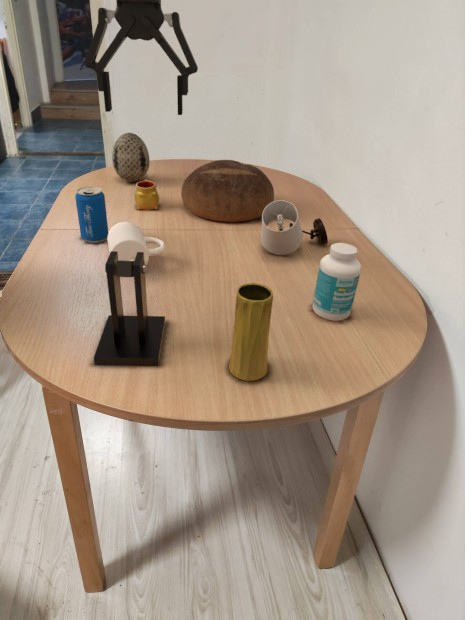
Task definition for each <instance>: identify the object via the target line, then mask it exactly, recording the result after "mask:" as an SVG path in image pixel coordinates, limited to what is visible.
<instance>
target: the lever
mask: <svg viewBox="0 0 465 620" xmlns="http://www.w3.org/2000/svg"><path fill="white" fill-rule="evenodd" d="M135 258H136V256H133V257H131V258H129V259H128V261H126V260H119V261H117V277H120V278H134V271H133V264H134V261H135ZM144 265H146V270H148V263H147V264H146V262H145V260H144Z"/></svg>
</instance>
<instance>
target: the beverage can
mask: <svg viewBox="0 0 465 620" xmlns="http://www.w3.org/2000/svg"><path fill="white" fill-rule="evenodd" d="M74 198H75V205H76V211H77V218H78V225H79V233H80V237H81V240H83V241H85V242H87V243H90V244H98V243H102V242H104V241H106V240H107V238H108V233H109V225H108V217H107V216H108V215H107V207H106V196H105V193H104V192H103V189H102V188H101V187H99V186H83V187H82V186H81V187H79V188H77V189H76V193H75V197H74Z"/></svg>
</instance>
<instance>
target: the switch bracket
mask: <svg viewBox="0 0 465 620" xmlns="http://www.w3.org/2000/svg"><path fill="white" fill-rule="evenodd" d="M117 261H118V252H117V251H111V253H110V255H109V254H108V257H107V260H106V262H105V263H104V264H105V265H104V272H105V275H106V282H107V291H108V299H109V300H108V301H109V310H110V314H108V316H107V319H106V322H105V324H104V326H103V330H102V333H101V336H100V339H99V342H98V345H97V347H96V350H95V353H94V356H93V363H94V365H97V366H98V365H99V366H101V365H102V366H103V365H104V366H159V365H160V360H161V353H162V347H163V342H164V341H163V340H164V334H165V327H166V316H165V315H148V298H147V281H146V274H147V269H146V265H144V252H137V254H136V258H135V261H134V264H133V271H134V276H133V283H134V295H135V307H136V315H124V314H125V313H124V304H123V303H124V302H123V294H122V293H123V292H122V284H121V277H117Z"/></svg>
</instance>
